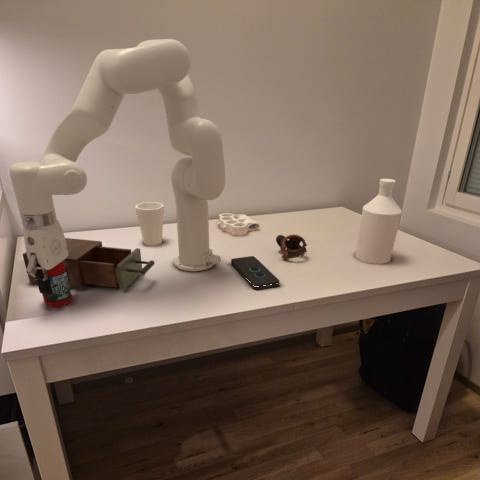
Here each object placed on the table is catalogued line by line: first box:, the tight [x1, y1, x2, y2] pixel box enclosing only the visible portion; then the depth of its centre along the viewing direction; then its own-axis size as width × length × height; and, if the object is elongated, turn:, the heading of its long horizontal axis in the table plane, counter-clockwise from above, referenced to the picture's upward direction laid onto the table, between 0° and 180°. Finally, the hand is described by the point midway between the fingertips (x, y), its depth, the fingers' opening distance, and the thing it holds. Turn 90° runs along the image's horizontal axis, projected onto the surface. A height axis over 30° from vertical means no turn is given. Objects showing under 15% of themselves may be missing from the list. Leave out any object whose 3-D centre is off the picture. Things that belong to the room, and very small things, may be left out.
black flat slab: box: [230, 255, 280, 291], centre depth 126 cm, size 8×2×20 cm
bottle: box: [355, 178, 403, 265], centre depth 134 cm, size 12×12×25 cm
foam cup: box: [135, 201, 165, 247], centre depth 145 cm, size 10×9×13 cm
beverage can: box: [39, 261, 73, 308], centre depth 106 cm, size 7×7×12 cm
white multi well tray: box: [215, 212, 261, 236], centre depth 163 cm, size 3×18×15 cm
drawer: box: [78, 246, 155, 291], centre depth 119 cm, size 20×13×7 cm, turn 79°
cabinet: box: [21, 237, 103, 290], centre depth 121 cm, size 16×14×9 cm
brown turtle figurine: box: [275, 234, 308, 261], centre depth 139 cm, size 12×10×8 cm
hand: (55, 286), depth 107 cm, fingers closed on beverage can, 6 cm apart
